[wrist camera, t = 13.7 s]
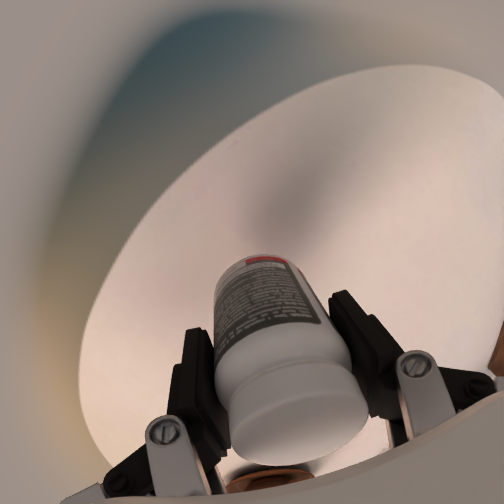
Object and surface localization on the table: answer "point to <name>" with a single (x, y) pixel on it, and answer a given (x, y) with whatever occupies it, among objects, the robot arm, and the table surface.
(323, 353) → the pill bottle
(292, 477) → the cup and saucer
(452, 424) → the robot arm
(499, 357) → the cabinet
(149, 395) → the table surface
